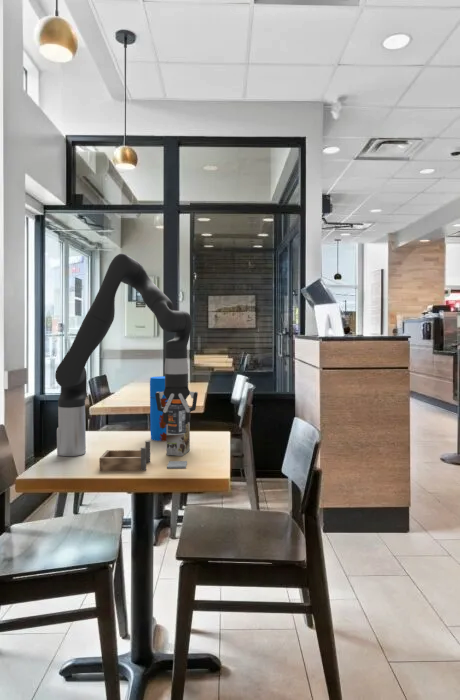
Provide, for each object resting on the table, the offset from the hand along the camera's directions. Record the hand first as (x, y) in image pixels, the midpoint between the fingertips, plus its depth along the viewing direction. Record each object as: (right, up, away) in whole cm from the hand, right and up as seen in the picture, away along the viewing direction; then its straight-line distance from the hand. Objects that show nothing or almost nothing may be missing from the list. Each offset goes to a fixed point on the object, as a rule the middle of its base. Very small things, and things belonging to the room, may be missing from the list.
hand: (176, 423), depth 171 cm
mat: (0, -14, 0) cm, 14 cm away
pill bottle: (0, -3, 0) cm, 3 cm away
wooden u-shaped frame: (-17, -14, 0) cm, 22 cm away
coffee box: (-1, -13, +18) cm, 23 cm away
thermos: (-10, -12, +44) cm, 47 cm away
